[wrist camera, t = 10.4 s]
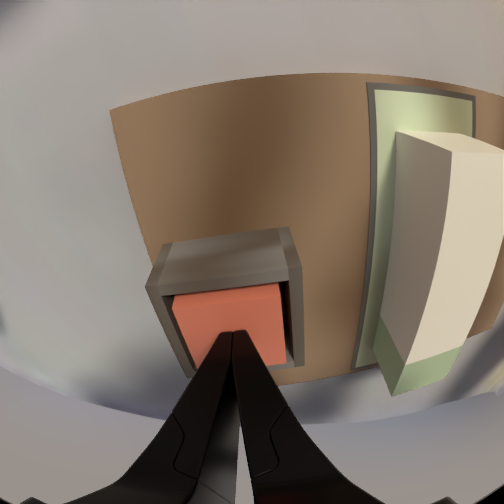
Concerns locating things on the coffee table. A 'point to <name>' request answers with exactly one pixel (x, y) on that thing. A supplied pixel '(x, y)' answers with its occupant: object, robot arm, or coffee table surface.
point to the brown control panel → (288, 199)
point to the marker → (438, 253)
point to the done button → (233, 319)
